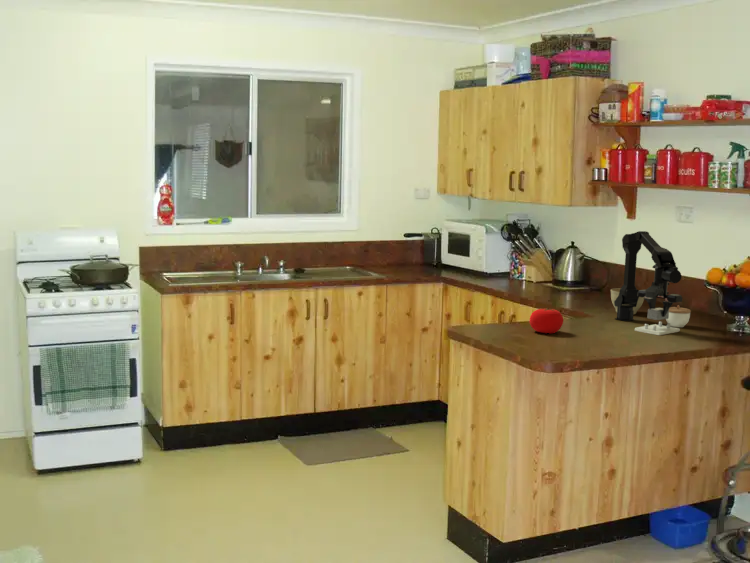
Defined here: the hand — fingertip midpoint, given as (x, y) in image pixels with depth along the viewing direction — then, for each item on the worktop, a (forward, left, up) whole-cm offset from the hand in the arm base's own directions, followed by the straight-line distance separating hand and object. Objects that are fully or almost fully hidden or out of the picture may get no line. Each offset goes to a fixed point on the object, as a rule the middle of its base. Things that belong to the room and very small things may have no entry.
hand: (658, 315), depth 395 cm
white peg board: (0, 0, -7) cm, 7 cm away
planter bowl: (-35, +29, -7) cm, 46 cm away
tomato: (-24, -46, -7) cm, 52 cm away
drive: (0, 0, -1) cm, 1 cm away
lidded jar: (-2, +19, -7) cm, 20 cm away
